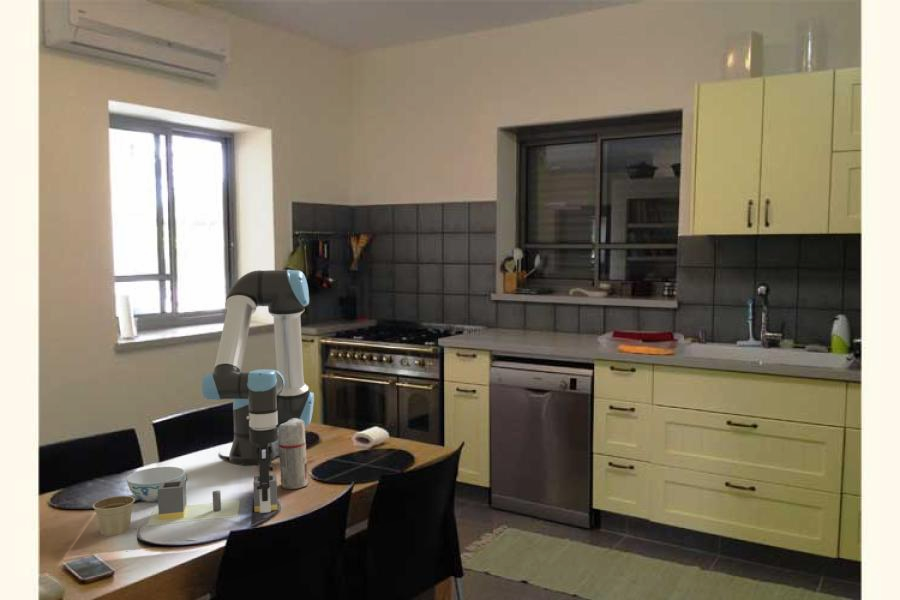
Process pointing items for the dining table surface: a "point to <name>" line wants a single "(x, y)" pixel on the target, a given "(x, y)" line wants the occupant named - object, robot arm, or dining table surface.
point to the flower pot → (114, 514)
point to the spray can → (293, 454)
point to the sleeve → (272, 492)
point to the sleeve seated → (172, 499)
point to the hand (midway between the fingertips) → (265, 503)
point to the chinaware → (152, 481)
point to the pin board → (201, 511)
